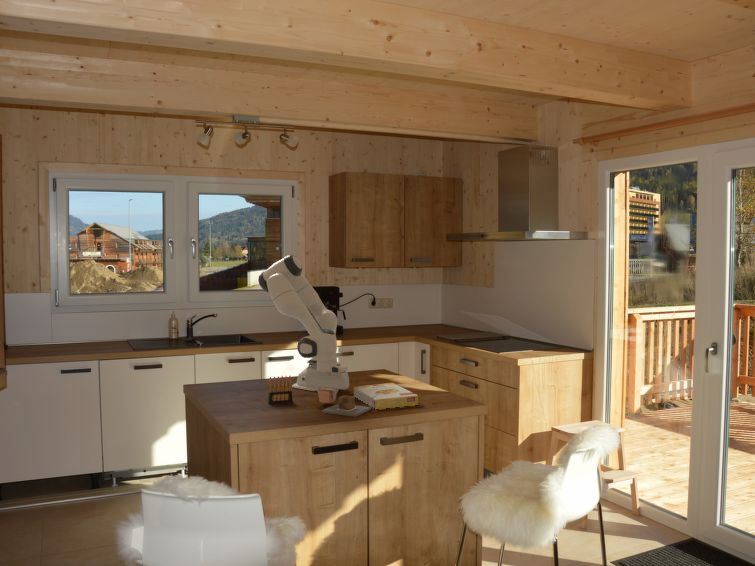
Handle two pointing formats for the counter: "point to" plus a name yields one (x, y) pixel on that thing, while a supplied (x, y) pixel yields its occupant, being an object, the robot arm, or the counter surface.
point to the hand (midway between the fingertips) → (327, 397)
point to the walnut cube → (346, 402)
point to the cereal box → (385, 396)
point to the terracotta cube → (326, 395)
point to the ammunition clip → (280, 390)
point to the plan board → (353, 412)
